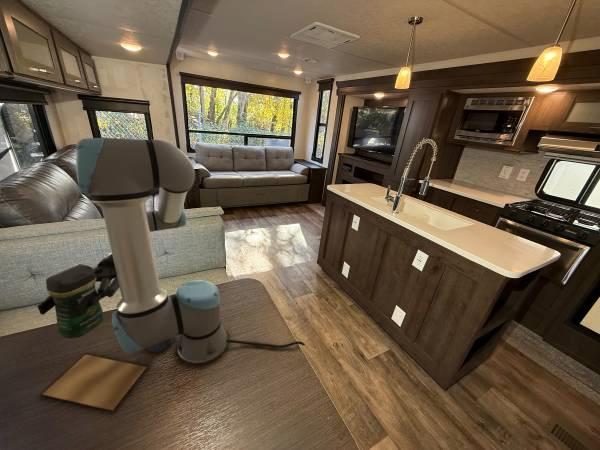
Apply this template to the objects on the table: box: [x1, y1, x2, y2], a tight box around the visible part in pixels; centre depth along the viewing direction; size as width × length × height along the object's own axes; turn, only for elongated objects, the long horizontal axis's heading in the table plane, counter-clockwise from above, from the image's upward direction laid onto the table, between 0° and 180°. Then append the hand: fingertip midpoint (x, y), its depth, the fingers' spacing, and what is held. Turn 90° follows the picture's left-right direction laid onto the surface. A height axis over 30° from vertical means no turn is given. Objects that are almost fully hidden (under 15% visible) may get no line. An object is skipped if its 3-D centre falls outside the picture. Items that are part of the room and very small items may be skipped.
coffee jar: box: [45, 263, 105, 339], centre depth 67 cm, size 10×8×19 cm
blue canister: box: [147, 337, 174, 353], centre depth 79 cm, size 8×8×11 cm
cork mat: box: [42, 354, 148, 412], centre depth 68 cm, size 20×12×1 cm, turn 82°
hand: (59, 311), depth 62 cm, fingers closed on coffee jar, 8 cm apart
